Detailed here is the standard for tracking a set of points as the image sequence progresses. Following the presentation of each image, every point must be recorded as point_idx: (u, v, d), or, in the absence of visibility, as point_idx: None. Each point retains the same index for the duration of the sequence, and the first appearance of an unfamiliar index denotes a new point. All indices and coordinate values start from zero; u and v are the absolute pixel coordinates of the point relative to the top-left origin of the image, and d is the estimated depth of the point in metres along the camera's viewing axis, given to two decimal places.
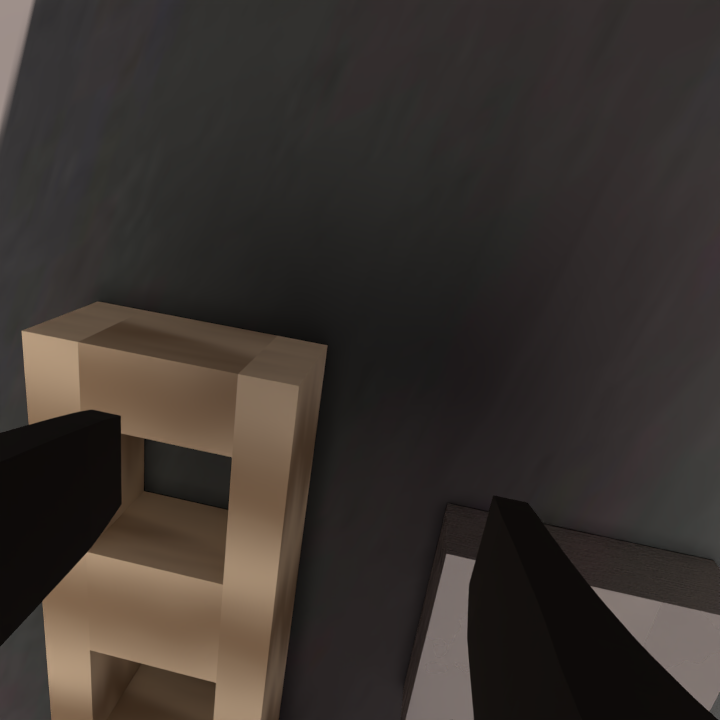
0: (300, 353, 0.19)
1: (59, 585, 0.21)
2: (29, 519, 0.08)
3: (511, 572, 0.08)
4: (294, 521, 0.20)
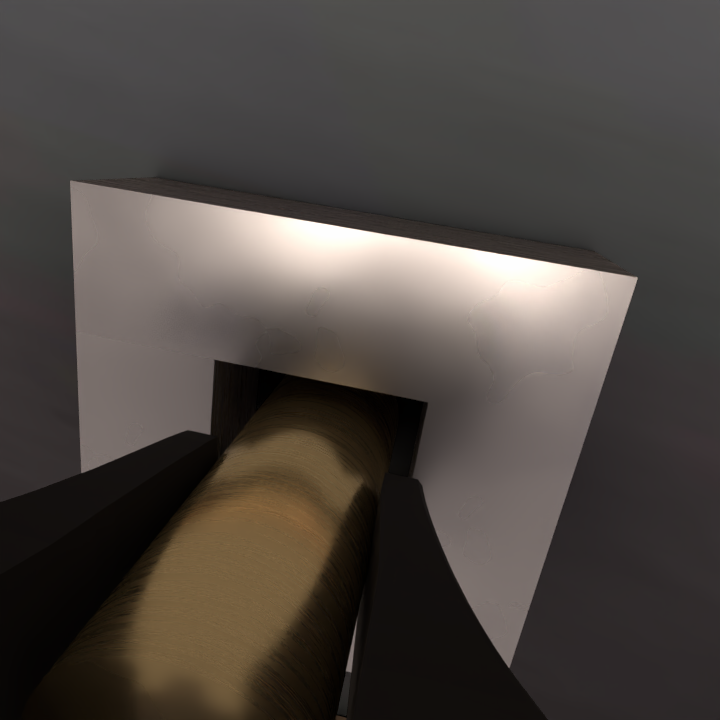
0: None
1: None
2: (146, 547, 0.08)
3: (376, 541, 0.08)
4: None
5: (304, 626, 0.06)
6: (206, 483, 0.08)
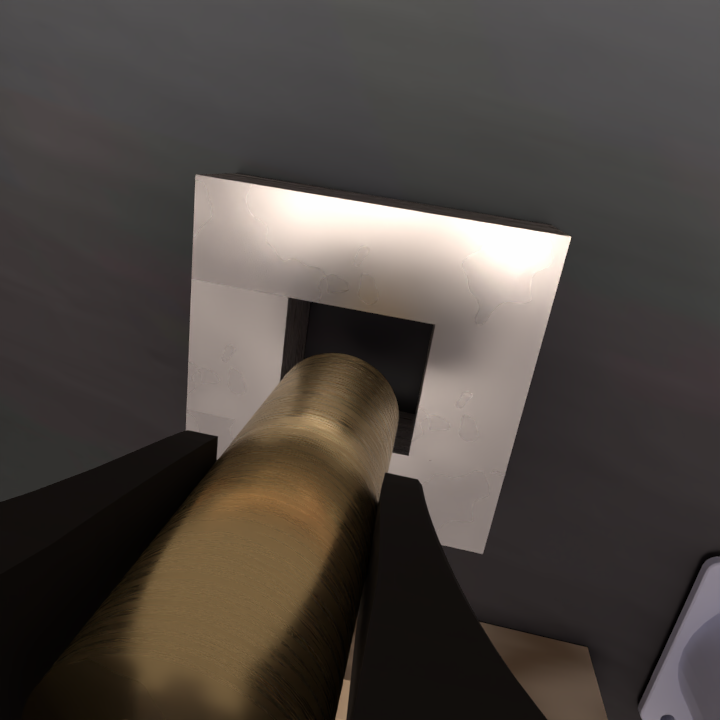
0: None
1: None
2: (146, 546, 0.08)
3: (376, 541, 0.08)
4: None
5: (304, 625, 0.06)
6: (206, 482, 0.08)
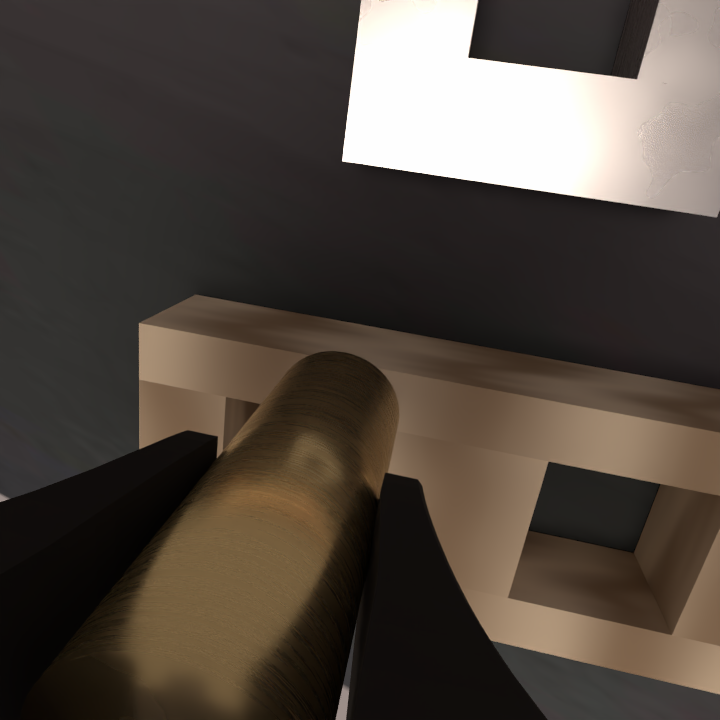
0: None
1: None
2: None
3: (376, 541, 0.08)
4: (348, 341, 0.18)
5: (304, 623, 0.06)
6: (207, 479, 0.08)
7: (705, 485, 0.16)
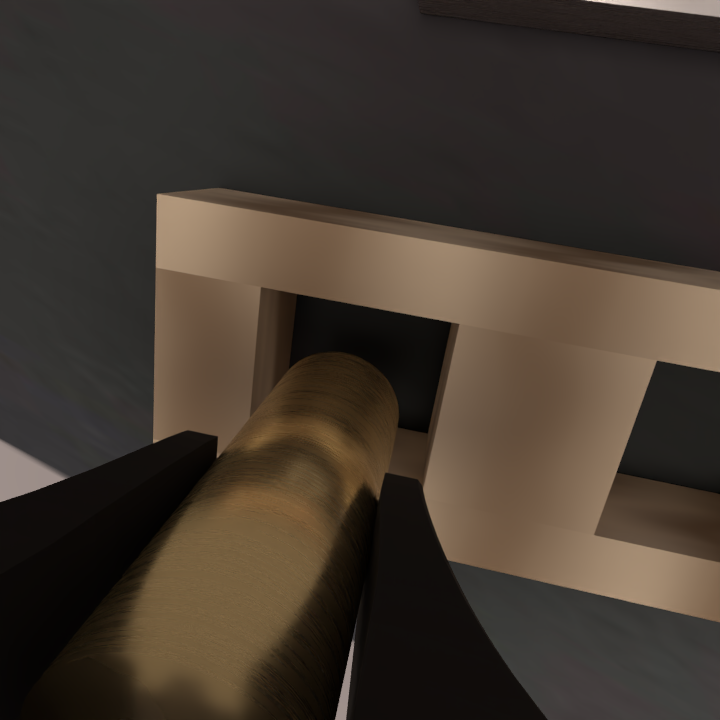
0: None
1: (478, 544, 0.16)
2: None
3: (376, 541, 0.08)
4: (405, 227, 0.15)
5: (304, 625, 0.06)
6: (206, 480, 0.08)
7: None
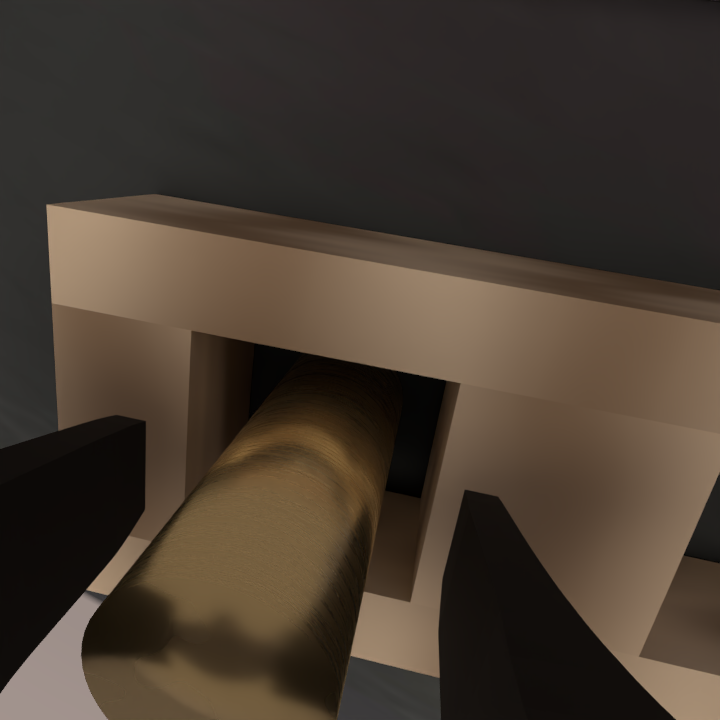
0: None
1: None
2: (60, 526, 0.08)
3: (475, 564, 0.08)
4: (388, 248, 0.11)
5: (326, 564, 0.07)
6: (232, 449, 0.09)
7: None
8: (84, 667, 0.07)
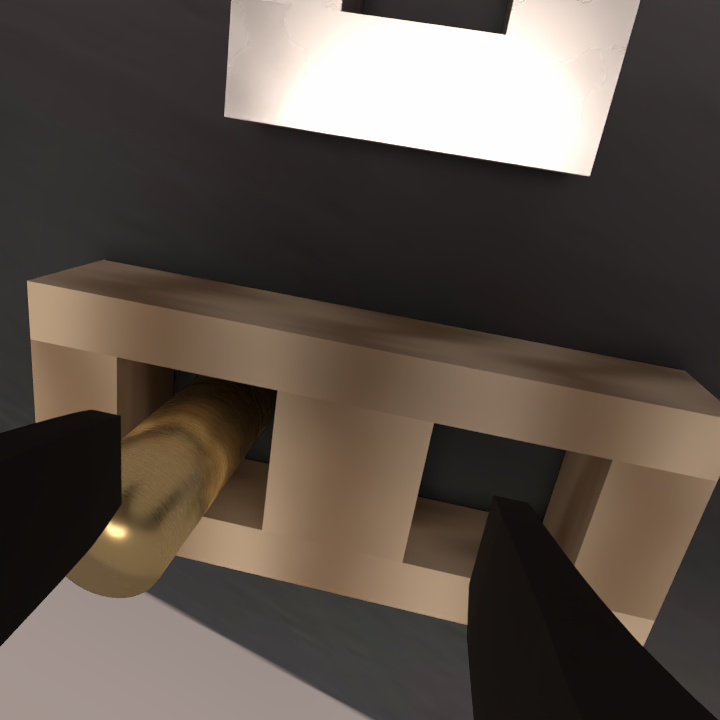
0: None
1: (312, 569, 0.19)
2: (29, 519, 0.08)
3: (511, 572, 0.08)
4: (244, 304, 0.18)
5: (168, 485, 0.14)
6: (135, 428, 0.16)
7: (585, 446, 0.16)
8: None
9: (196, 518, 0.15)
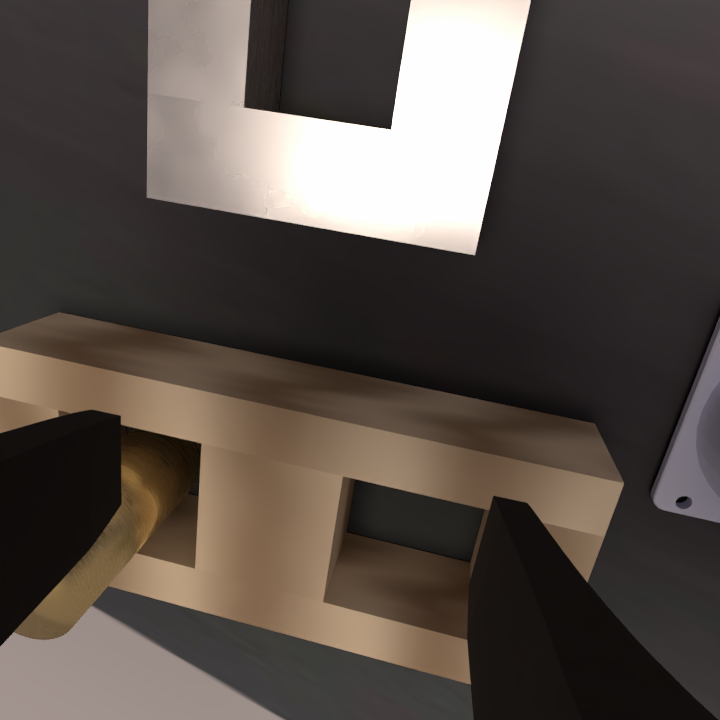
0: None
1: (241, 606, 0.20)
2: (29, 518, 0.08)
3: (511, 572, 0.08)
4: (177, 360, 0.19)
5: None
6: None
7: (481, 501, 0.17)
8: None
9: (117, 565, 0.16)
